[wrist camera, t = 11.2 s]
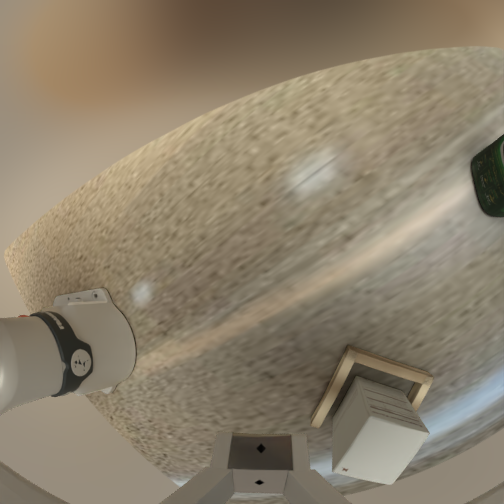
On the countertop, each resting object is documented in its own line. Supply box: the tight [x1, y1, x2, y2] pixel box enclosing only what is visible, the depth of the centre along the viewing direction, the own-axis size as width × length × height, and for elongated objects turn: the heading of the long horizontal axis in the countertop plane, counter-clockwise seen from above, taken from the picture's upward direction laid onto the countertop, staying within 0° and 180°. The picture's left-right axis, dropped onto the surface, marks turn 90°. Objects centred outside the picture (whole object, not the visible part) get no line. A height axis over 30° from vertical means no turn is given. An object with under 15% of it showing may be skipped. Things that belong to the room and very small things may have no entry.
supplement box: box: [332, 376, 430, 485], centre depth 25 cm, size 7×7×13 cm
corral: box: [310, 345, 434, 428], centre depth 30 cm, size 11×12×2 cm
